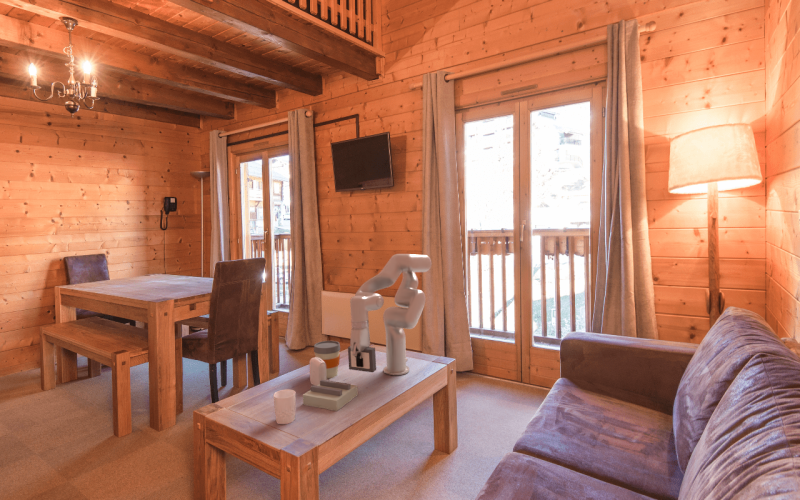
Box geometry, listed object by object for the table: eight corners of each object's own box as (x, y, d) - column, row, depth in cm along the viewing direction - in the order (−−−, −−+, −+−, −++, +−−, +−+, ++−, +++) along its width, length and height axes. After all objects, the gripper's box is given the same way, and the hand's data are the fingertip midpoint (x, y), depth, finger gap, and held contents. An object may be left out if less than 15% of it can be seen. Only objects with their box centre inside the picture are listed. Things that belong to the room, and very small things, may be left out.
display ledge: (325, 389, 175) (325, 376, 174) (357, 394, 168) (357, 380, 168) (303, 404, 160) (302, 389, 160) (337, 411, 154) (336, 395, 153)
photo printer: (308, 383, 183) (307, 356, 182) (317, 380, 185) (316, 354, 185) (319, 389, 175) (318, 362, 174) (328, 387, 177) (327, 359, 177)
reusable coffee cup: (342, 378, 187) (341, 346, 186) (314, 381, 185) (313, 349, 184) (340, 369, 200) (339, 339, 199) (314, 371, 197) (313, 341, 196)
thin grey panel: (352, 366, 180) (351, 345, 179) (376, 369, 175) (375, 347, 174) (348, 369, 177) (347, 347, 176) (372, 372, 172) (371, 350, 171)
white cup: (277, 415, 151) (276, 390, 150) (298, 414, 152) (297, 388, 151) (272, 426, 143) (271, 398, 143) (294, 424, 144) (293, 397, 143)
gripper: (361, 319, 183) (363, 357, 185) (342, 328, 168) (345, 371, 170) (376, 320, 180) (378, 359, 182) (358, 330, 165) (360, 373, 167)
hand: (362, 364), depth 176 cm, fingers closed on thin grey panel, 3 cm apart
